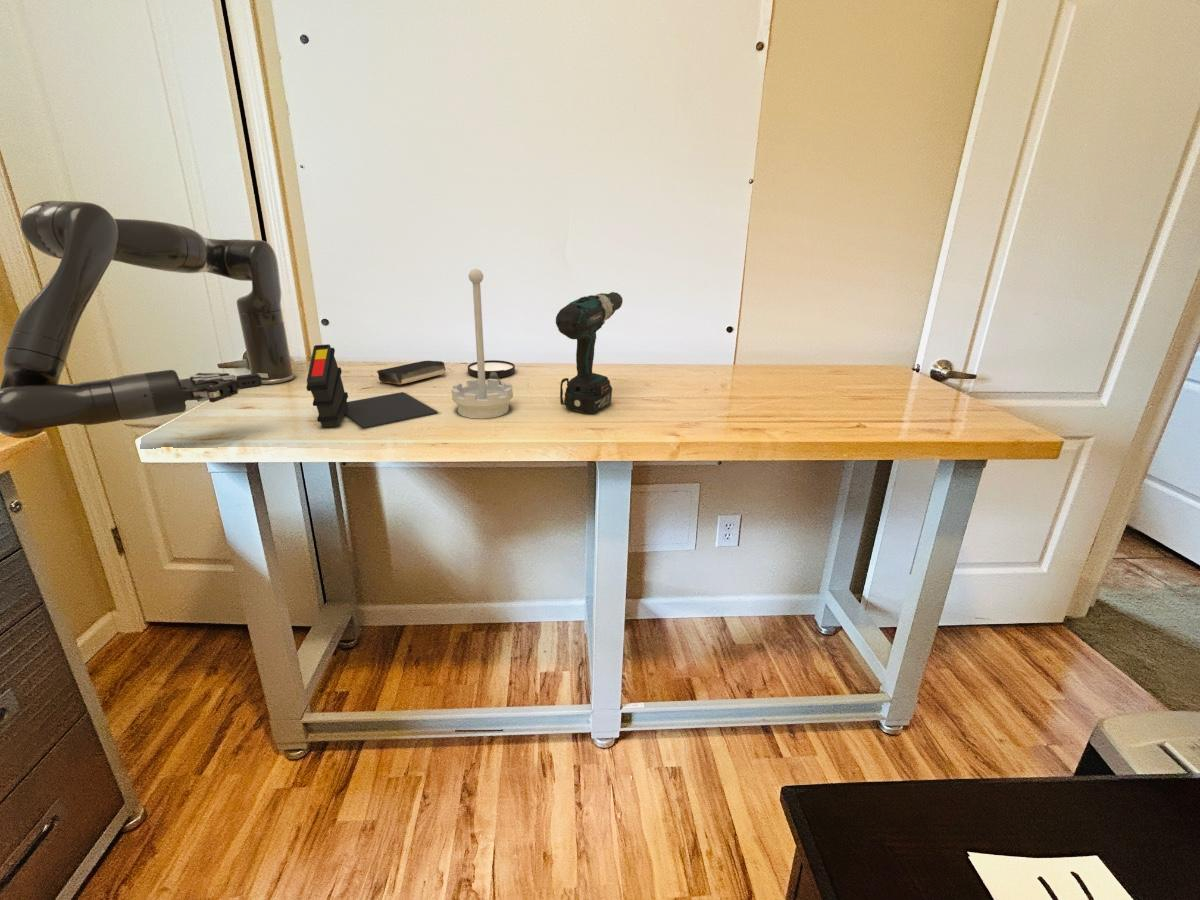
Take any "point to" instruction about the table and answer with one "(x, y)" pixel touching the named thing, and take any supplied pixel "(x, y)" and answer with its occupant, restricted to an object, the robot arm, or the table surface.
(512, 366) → the magnifying glass
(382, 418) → the mat
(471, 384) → the flag stand
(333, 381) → the black tall stepped block
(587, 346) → the power drill
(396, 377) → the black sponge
